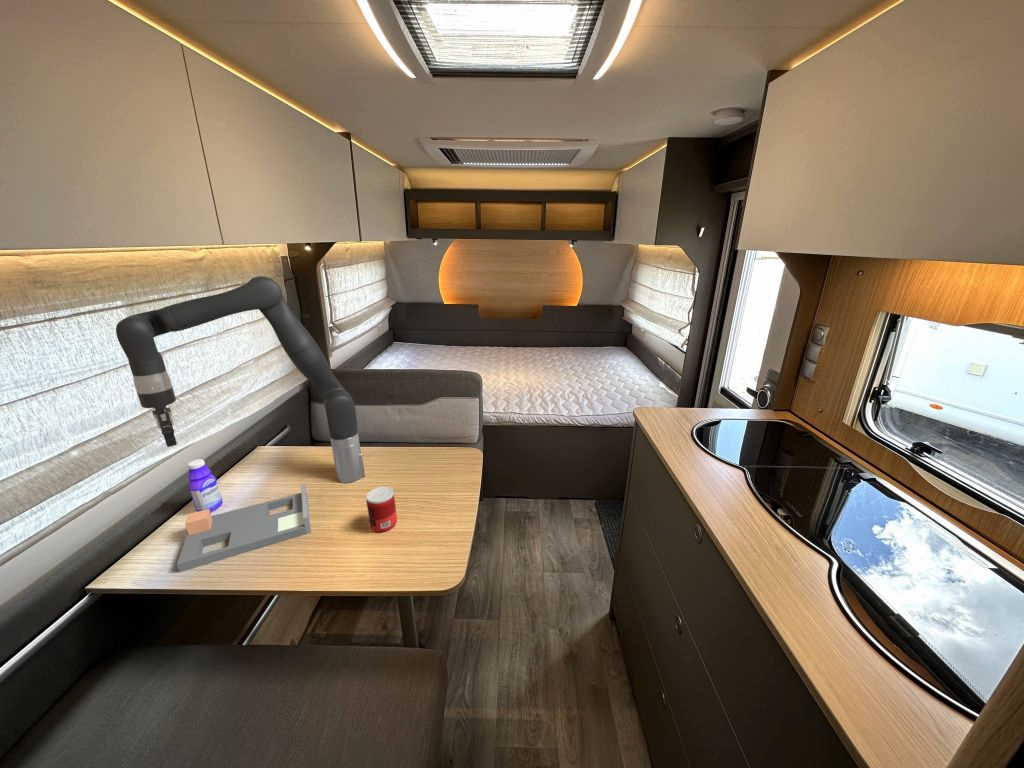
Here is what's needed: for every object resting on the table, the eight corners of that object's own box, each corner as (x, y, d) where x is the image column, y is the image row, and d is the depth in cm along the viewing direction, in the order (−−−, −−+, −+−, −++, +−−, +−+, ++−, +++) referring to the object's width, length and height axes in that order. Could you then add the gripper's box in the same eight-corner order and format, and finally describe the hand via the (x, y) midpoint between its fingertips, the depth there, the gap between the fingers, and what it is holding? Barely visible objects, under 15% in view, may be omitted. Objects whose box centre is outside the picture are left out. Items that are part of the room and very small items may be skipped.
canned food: (402, 519, 124) (398, 488, 120) (386, 535, 116) (382, 504, 113) (381, 514, 126) (377, 484, 122) (365, 530, 119) (360, 499, 115)
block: (212, 519, 120) (209, 508, 119) (210, 529, 116) (206, 518, 115) (192, 525, 118) (188, 513, 117) (188, 535, 114) (184, 523, 112)
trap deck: (307, 497, 135) (304, 483, 133) (311, 532, 118) (307, 517, 116) (193, 527, 121) (188, 512, 119) (179, 572, 104) (173, 555, 102)
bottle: (207, 517, 125) (192, 468, 120) (192, 514, 127) (177, 467, 121) (227, 503, 132) (214, 457, 127) (213, 501, 133) (199, 455, 128)
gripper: (174, 391, 108) (190, 444, 113) (169, 379, 117) (183, 429, 123) (137, 397, 103) (155, 453, 108) (135, 385, 113) (151, 436, 118)
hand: (170, 440), depth 115 cm, fingers open, 8 cm apart
